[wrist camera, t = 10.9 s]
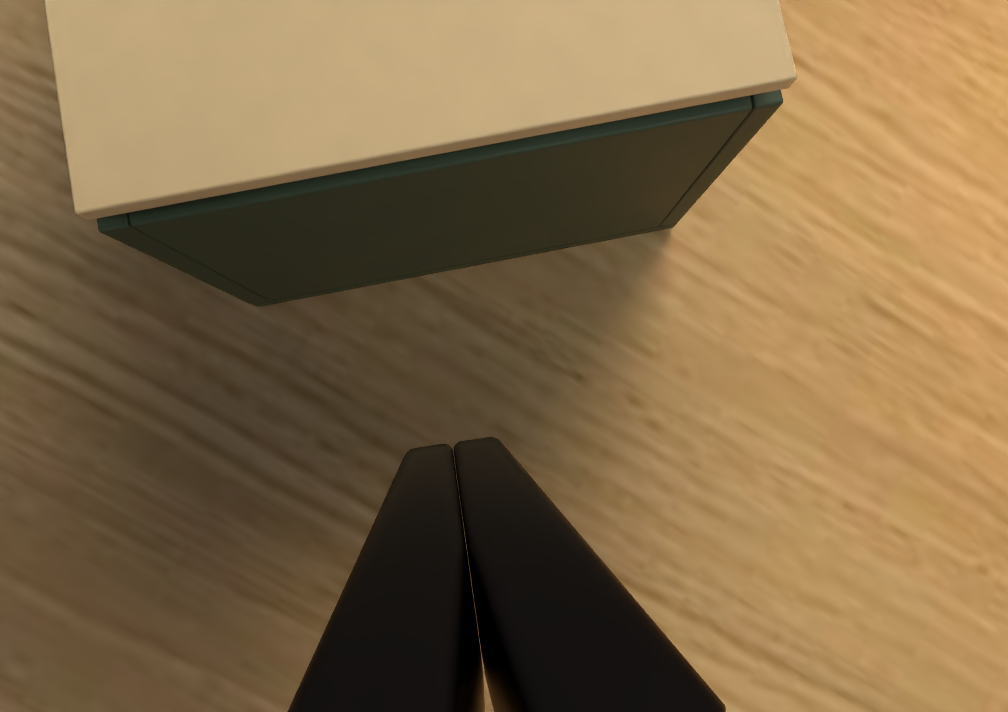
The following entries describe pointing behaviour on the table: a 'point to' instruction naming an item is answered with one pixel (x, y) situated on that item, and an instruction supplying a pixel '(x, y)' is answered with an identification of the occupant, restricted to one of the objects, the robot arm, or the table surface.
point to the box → (449, 205)
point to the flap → (371, 82)
